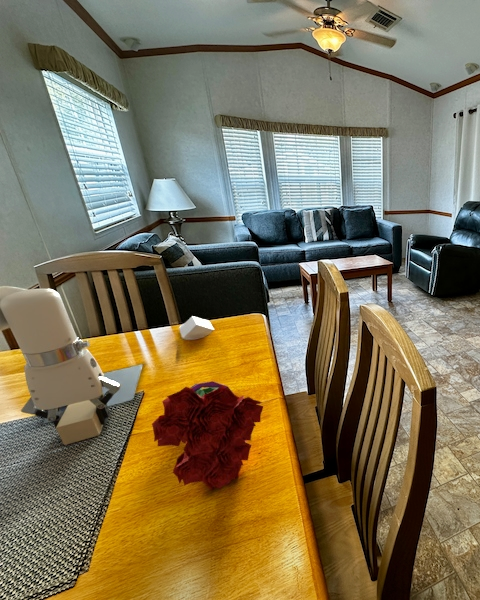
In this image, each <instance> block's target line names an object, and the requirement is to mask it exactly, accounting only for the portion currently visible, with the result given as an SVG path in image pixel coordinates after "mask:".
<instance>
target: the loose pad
mask: <svg viewBox="0 0 480 600" xmlns="http://www.w3.org/2000/svg"><path fill="white" fill-rule="evenodd" d="M96 409H97V407H96V406H95V405H94V404H93V403H92V402H90V401H89V400H87V401H83V402H79V403H74V404H70V405H68V406H67V408H66V410H65V412H64V414H63V416H62V417H61V419H60V421H59V423H58V425H57V427H56V428H55V430H56V429H57V430H56V432H57V434H58V436H59V437H60V440H61V442H62V444H63V445H64V446H66V445H70V444H74V443H77V442H80V441H84V440H88V439H91V438H93V437H94V438H95V437H98V436H100V435H101V432H102V429H103V427H104V425H101V423H100V421H99V418H98V416H97V414H96Z"/></svg>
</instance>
